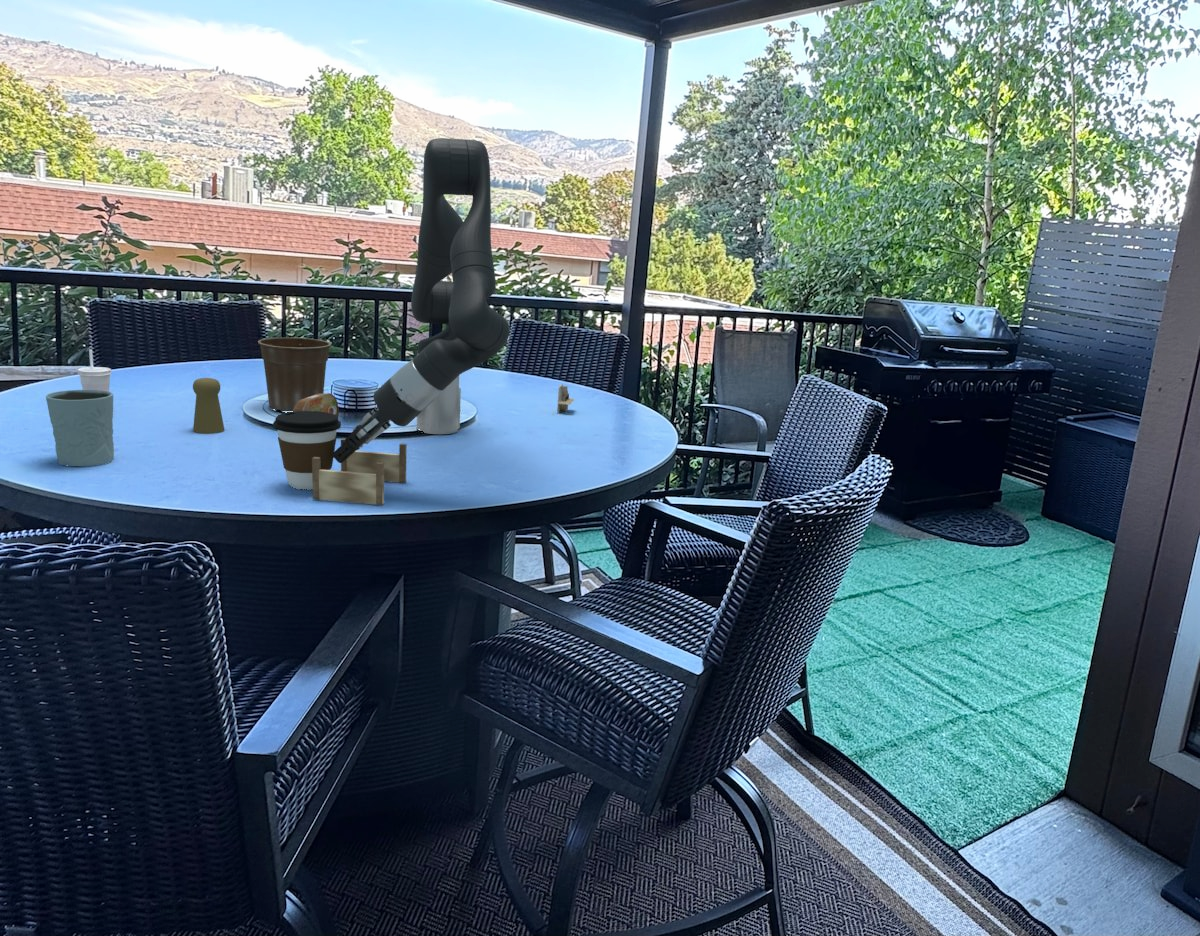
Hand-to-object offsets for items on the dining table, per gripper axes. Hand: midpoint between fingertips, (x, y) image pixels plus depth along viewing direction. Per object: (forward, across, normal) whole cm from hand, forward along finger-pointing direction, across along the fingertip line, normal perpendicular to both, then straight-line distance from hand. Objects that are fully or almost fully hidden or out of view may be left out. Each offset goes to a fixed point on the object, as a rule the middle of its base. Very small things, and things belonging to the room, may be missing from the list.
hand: (337, 458), depth 143 cm
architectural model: (-18, -81, +27) cm, 87 cm away
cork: (+31, -32, -24) cm, 51 cm away
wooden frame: (+1, 0, +7) cm, 7 cm away
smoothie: (+51, -40, -44) cm, 78 cm away
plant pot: (+25, -60, -18) cm, 67 cm away
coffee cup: (+8, -1, 0) cm, 8 cm away
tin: (+16, -37, -8) cm, 41 cm away
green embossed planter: (+37, -5, -30) cm, 48 cm away
